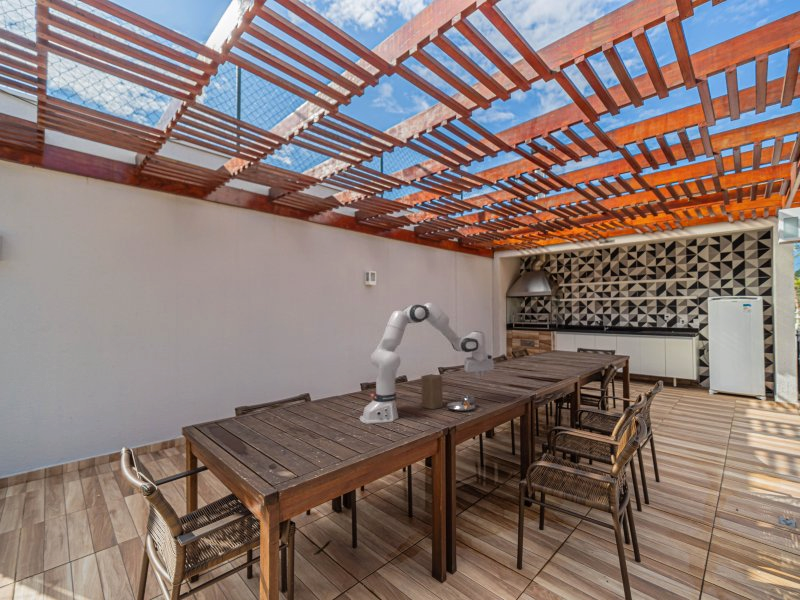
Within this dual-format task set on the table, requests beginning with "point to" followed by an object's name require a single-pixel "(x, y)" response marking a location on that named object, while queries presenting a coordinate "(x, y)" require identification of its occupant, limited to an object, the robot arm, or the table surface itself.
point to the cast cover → (467, 399)
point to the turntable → (460, 406)
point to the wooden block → (431, 391)
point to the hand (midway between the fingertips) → (479, 378)
